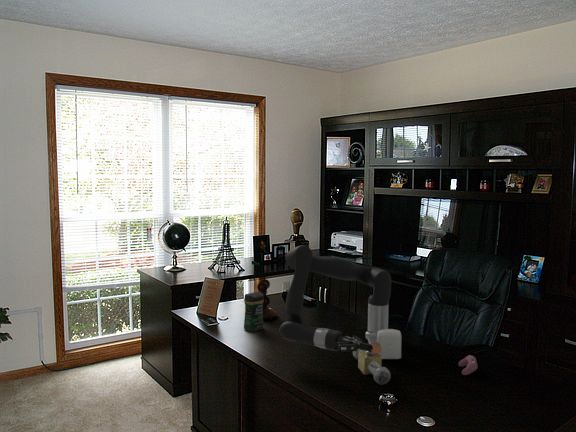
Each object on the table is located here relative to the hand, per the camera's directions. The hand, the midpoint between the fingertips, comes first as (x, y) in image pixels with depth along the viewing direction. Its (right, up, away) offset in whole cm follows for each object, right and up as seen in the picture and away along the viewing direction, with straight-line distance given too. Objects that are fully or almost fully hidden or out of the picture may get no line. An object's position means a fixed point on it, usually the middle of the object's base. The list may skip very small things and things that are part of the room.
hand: (370, 347), depth 177 cm
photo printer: (+12, -12, +26) cm, 31 cm away
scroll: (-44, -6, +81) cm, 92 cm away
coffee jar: (-47, -8, +61) cm, 78 cm away
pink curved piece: (+41, -13, +14) cm, 45 cm away
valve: (+2, -13, +14) cm, 19 cm away
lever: (+2, 0, +6) cm, 6 cm away
